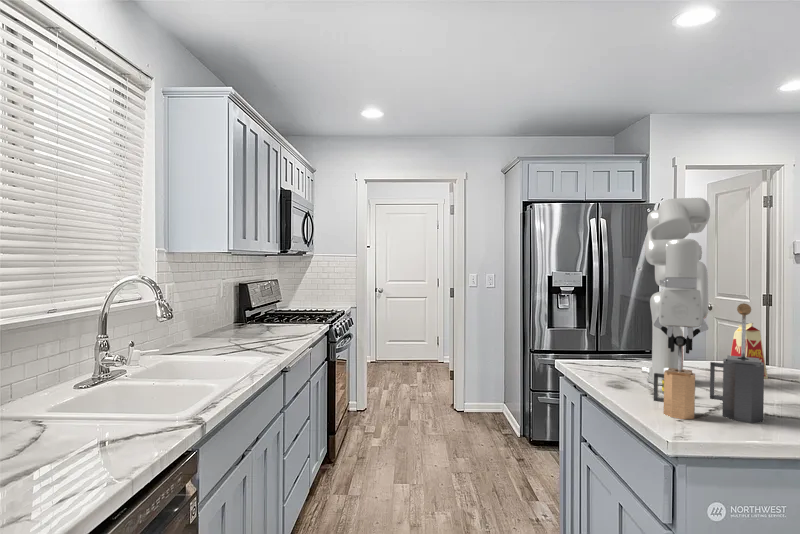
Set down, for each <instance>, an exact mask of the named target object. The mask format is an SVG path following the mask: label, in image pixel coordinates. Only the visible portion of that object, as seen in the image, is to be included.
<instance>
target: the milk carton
mask: <svg viewBox="0 0 800 534" xmlns="http://www.w3.org/2000/svg"><path fill="white" fill-rule="evenodd" d="M753 325H754V322H750V323H746V348H745V357H751V358H759V360H760V362H763V363H764V380H769V378H768V372H767V367H766V360H765V354H764V347H763V341H762V335H761V330H760V329H758V328H756V327H754V326H753ZM737 326H738V328H737V329H736V330H735V331H734V333H733V338H732V343H731V349H730V356H740V357H741V345H742V324H737Z"/></svg>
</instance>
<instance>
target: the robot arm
mask: <svg viewBox="0 0 800 534" xmlns="http://www.w3.org/2000/svg"><path fill="white" fill-rule="evenodd" d="M710 216H711V208H710V204H709V202H708V201H707V200H706V199H705V198H703V197H685V198H684V197H682V198H680V197H679V198H678V197H677V198H675V197H674V198H669V199H666V200H663V201H662V202H661V203H660V205H659V206H658V209H655V210H653V211H651V212H649V213H648V215H647V219H646V223H647V224H646V225H647V231H648V232H647V234H646V235H645V239H644V254H645V255H644V257H645V259H646V261H647V263H648V264H650V266H651V265H652V266H654V281H655V283H656V285H657V286H659V287H662V290H661V291H657V292H654V293H653V294H651V296H650V299H649V306H650V313H651V321H652V325H651V326H652V335H651V336H652V339H651V340H652V345H651V348H652V349H651V367H648V366H647V367H646V366H642V367H641V374H647V375H648V376H647V377H646V381H647V382H649V383H650V384H653V385H654V373H660V374H664V368H676V369H678V346H677V345H675V343H674V338H675V337H676V336H683V337H684V331H683V329H682V328H687V336H686V337H685V339H686V345H685V354H690V351H693V339H694V338H695V337H696V336H698V335H699V334H700V333H703V332H705V331H708V330H709V326H708V324H707V323H706V320H705V319H706V318H707V316H708V314H709V276H708V268H707V266H706V265H705V263H704V262H702V261H701V260H702V254H703V249H702V246H701V245H700V243H699V242H698V241H697V240H695V239H692V238H687V236H688V235H689V234H698V233H699V234H700V233H702V232H703V231H704V230H705V228H706V226H707V224H708V223H709V221H710ZM681 369H684V346H682V363H681ZM658 386H662V378H661V377H658Z"/></svg>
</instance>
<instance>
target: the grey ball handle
mask: <svg viewBox="0 0 800 534" xmlns="http://www.w3.org/2000/svg"><path fill="white" fill-rule="evenodd" d="M674 343H675V345H677V346H678V371H680V372H681V363H682V346H683V347H684V346H685V347H686V337H684V335H683V336H676V337H675V338H674Z"/></svg>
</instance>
